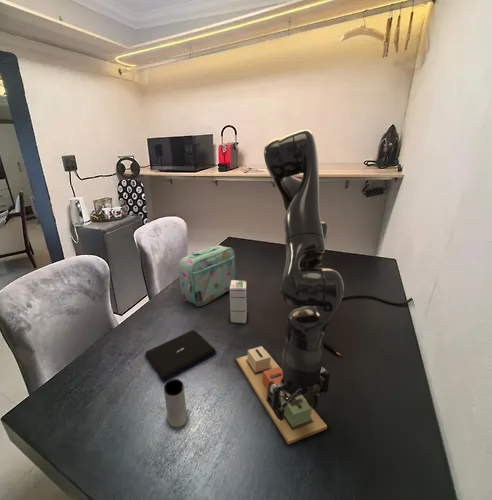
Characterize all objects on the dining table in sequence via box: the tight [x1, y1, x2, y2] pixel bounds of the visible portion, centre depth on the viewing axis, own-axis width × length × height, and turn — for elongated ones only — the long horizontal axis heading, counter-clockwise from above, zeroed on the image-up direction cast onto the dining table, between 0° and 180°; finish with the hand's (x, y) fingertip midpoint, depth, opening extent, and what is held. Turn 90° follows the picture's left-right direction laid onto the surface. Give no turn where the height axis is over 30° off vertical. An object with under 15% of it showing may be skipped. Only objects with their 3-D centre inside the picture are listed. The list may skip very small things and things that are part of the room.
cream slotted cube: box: [247, 345, 272, 372], centre depth 74 cm, size 5×5×4 cm
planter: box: [163, 378, 188, 429], centre depth 61 cm, size 4×4×10 cm
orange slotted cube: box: [263, 366, 286, 393], centre depth 67 cm, size 5×5×4 cm
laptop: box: [145, 329, 217, 382], centre depth 82 cm, size 16×20×2 cm
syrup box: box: [229, 279, 248, 324], centre depth 95 cm, size 6×6×14 cm
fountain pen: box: [323, 341, 341, 356], centre depth 83 cm, size 14×1×2 cm, turn 24°
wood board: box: [235, 349, 328, 445], centre depth 68 cm, size 10×25×1 cm, turn 17°
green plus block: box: [281, 394, 312, 427], centre depth 60 cm, size 5×5×4 cm
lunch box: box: [177, 244, 237, 307], centre depth 110 cm, size 27×10×21 cm, turn 131°
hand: (295, 411), depth 60 cm, fingers open, 8 cm apart
